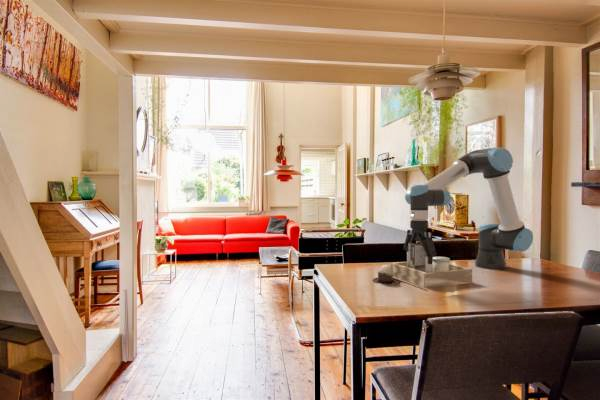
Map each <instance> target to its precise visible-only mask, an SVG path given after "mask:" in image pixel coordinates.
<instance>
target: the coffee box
mask: <svg viewBox="0 0 600 400" xmlns="http://www.w3.org/2000/svg"><path fill="white" fill-rule="evenodd" d="M426 255H427V254H426V252H425V250H424V248H423V245H422V243H421V242H416V243H409V268H412V269H415V270H419V271H422V272H425V273H429V271H428V272H426V271H425V260H426Z"/></svg>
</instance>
